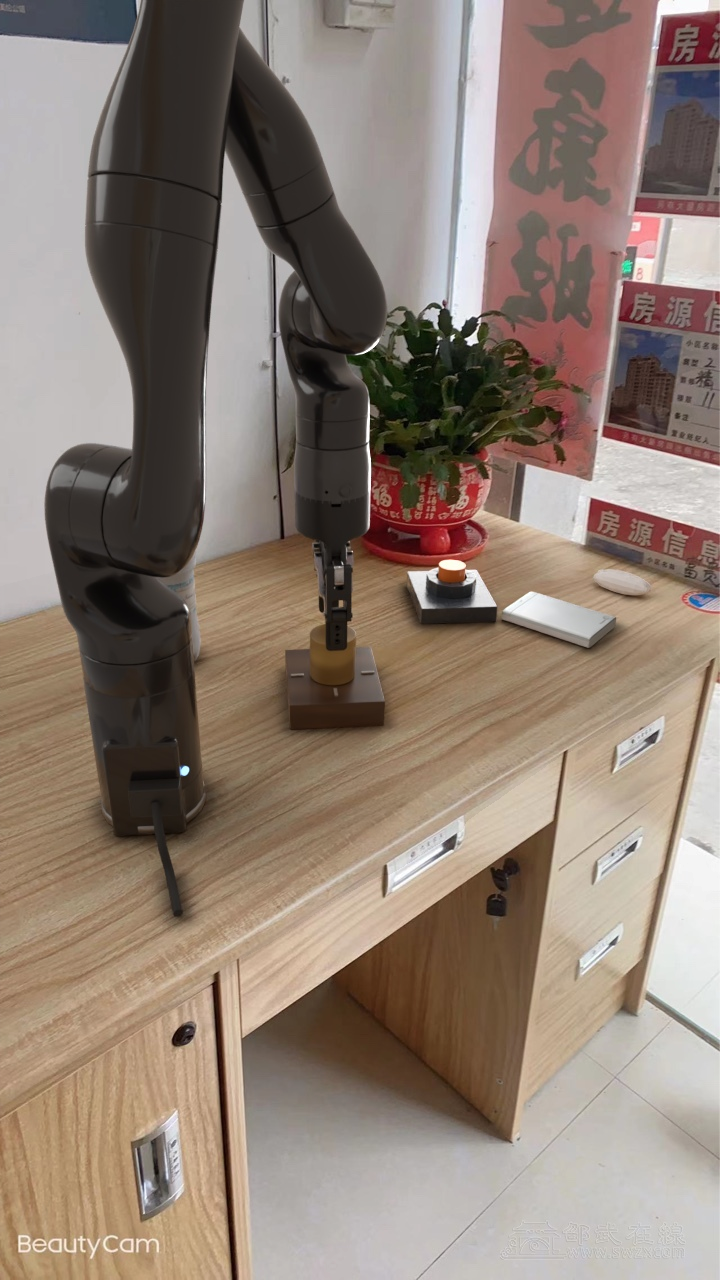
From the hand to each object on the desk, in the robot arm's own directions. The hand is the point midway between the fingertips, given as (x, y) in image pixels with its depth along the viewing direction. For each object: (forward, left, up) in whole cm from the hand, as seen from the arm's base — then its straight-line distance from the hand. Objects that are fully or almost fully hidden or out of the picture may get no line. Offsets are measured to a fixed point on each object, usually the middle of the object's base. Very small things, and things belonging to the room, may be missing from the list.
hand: (332, 629), depth 95 cm
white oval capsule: (+25, -43, -9) cm, 50 cm away
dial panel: (0, 0, -8) cm, 8 cm away
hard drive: (+15, -31, -9) cm, 36 cm away
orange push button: (+23, -18, -5) cm, 29 cm away
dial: (0, 0, -5) cm, 5 cm away
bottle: (+10, +18, -9) cm, 22 cm away
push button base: (+23, -18, -8) cm, 30 cm away
